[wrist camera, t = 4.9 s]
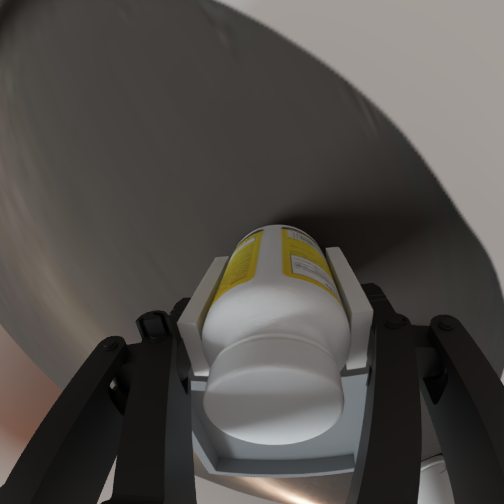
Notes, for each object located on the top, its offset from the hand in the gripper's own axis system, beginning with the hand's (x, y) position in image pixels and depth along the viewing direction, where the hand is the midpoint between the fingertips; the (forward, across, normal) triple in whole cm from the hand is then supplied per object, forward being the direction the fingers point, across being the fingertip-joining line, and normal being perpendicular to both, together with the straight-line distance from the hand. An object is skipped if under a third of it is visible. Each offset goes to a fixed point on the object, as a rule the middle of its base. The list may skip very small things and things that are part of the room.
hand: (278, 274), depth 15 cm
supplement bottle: (+1, 0, 0) cm, 1 cm away
